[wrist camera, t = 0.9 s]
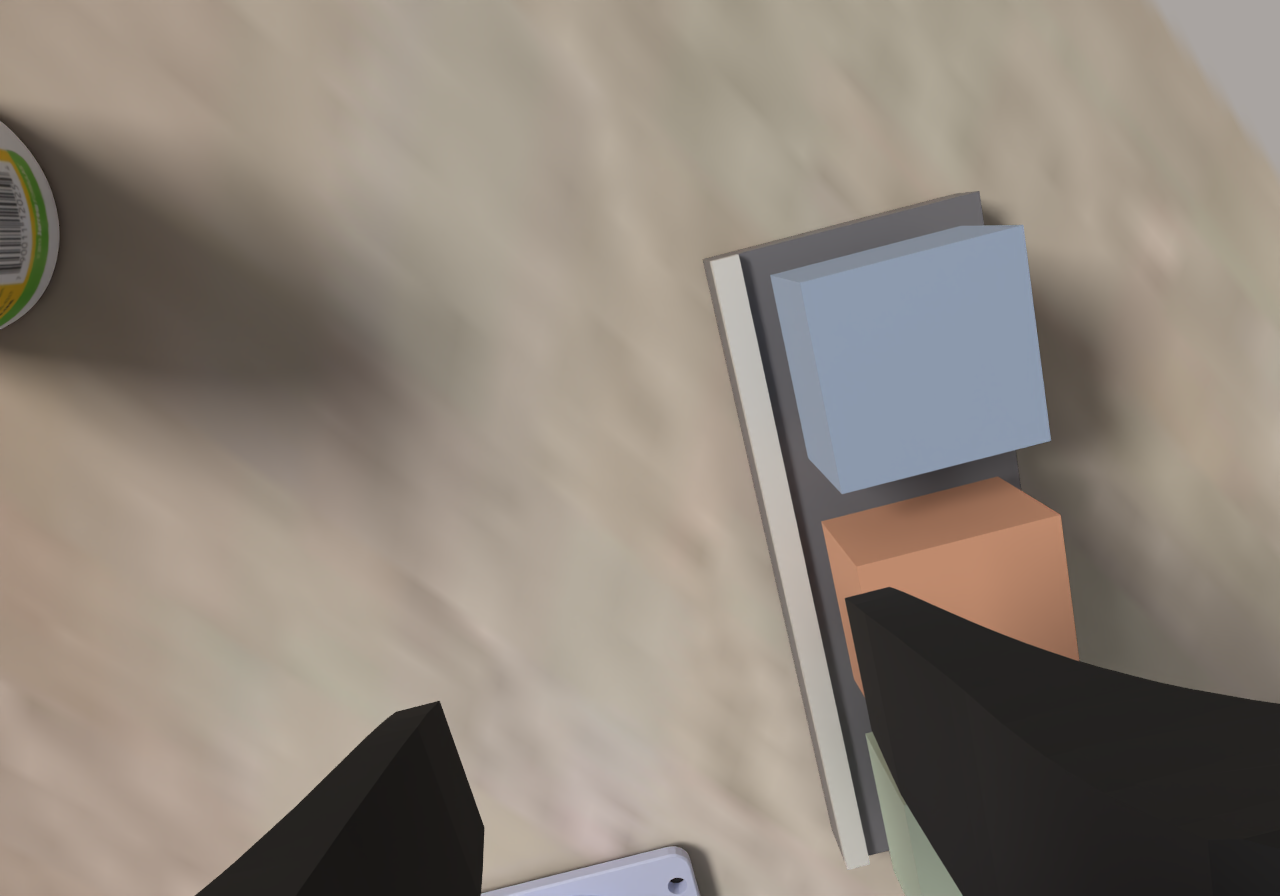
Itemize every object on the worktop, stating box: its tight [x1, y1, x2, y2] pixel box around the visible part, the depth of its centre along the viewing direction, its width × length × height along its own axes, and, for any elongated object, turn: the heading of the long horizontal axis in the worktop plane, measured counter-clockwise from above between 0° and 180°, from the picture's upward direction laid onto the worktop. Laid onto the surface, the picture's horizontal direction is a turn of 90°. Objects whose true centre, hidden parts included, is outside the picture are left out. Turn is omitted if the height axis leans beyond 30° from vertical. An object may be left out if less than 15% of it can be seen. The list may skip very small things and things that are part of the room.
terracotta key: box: [821, 476, 1079, 697], centre depth 18 cm, size 4×4×3 cm
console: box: [703, 191, 1021, 870], centre depth 21 cm, size 16×6×2 cm, turn 14°
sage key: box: [865, 732, 963, 896], centre depth 19 cm, size 4×4×3 cm
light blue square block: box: [770, 225, 1051, 494], centre depth 17 cm, size 4×4×3 cm
